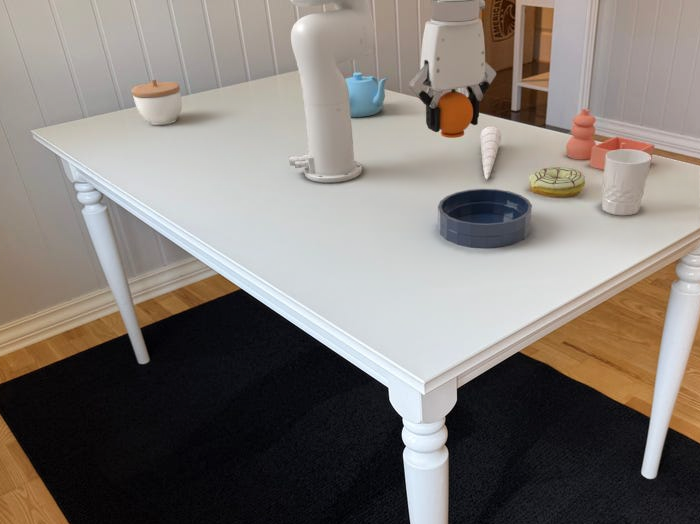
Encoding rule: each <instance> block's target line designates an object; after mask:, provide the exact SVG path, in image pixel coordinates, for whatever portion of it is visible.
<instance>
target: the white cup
mask: <svg viewBox="0 0 700 524" xmlns="http://www.w3.org/2000/svg"><path fill="white" fill-rule="evenodd" d="M650 162H651V156H650V155H649V154H648V153H646V152H643V151H639V150H632V149H619V150H613V151H610V152H608V153H607V154H606V157H605V168H604V170H603V180H602V199H601V208H602V210H603V211H604V212H606V213H608V214H611V215H614V216H633V215H635V214H637V213H638V212H639V211H640V208H641V205H642V199H643V196H644V192H645V187H646V184H647V180H648V176H649V172H650V166H651V165H650ZM651 163H652V162H651Z"/></svg>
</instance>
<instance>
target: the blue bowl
mask: <svg viewBox="0 0 700 524" xmlns="http://www.w3.org/2000/svg"><path fill="white" fill-rule="evenodd" d="M532 210H533V204H532V203H531V202H530V200H529V199H528V198H526V197H525V196H523V195H521V194H519V193H516V192H513V191H509V190H503V189H498V188H474V189H465V190H462V191H456V192H454V193H451V194H449V195H446V196H445V197H444V198H442V199H441V200H440V201H439V203H438V205H437V230H438V232H439V235H440V236H441V237H442V238H443V239H445V240H446V241H448V242H451V243H453V244H455V245H457V246H463V247H468V248H475V249H477V248H479V249H492V248H502V247H507V246H512V245H514V244H517V243H519V242H521V241H523V240H525V239H526V238H527V237H528V236H529V235H530V234H531V226H532V225H531V224H532Z"/></svg>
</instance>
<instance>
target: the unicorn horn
mask: <svg viewBox="0 0 700 524" xmlns="http://www.w3.org/2000/svg"><path fill="white" fill-rule="evenodd" d="M479 137H480V138H479V140H480V153H481V162H482V170H483V175H484V179H485V180H489V178H490V175H491V173H492V170H493V166H494V164H495V162H496V158H497V154H498V150H499V147H500V143H501V139H502V134H501V130H499V128H498V127H495V126H487V127H485V128H483V129H482V130H481V132H480V134H479Z"/></svg>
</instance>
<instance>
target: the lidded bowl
mask: <svg viewBox="0 0 700 524" xmlns="http://www.w3.org/2000/svg"><path fill="white" fill-rule="evenodd" d="M150 81H151V82H148V83H142V84H139V85H136V86H134V87H132V88H131V90H130V91H131V92H130V93H131V95H132V98H133V101H134V104H135V107H136V109H137V112H138V113H139V114H140V116H141V117H142V118H143V119H144V120H146V121H147V122H149V124H150V125H153V126H165V125H170V124H173V123H176V122H177V118H178V117H179V116H180V114H181V112H182V106H183V105H182V104H183V103H182V93H181V87H180V84H179V83H178V82H174V81H157V79H156V78H153V79H150Z"/></svg>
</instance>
